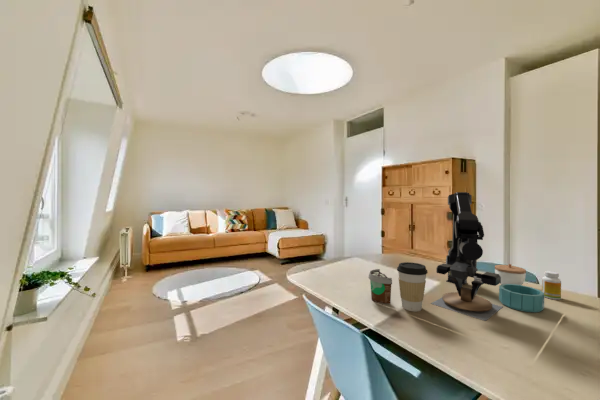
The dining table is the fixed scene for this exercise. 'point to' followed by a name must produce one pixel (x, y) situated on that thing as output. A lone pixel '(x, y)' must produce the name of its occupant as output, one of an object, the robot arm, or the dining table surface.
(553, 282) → the supplement bottle
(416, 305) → the coffee cup
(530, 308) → the bowl
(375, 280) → the food container
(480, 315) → the mat
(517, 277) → the lidded jar
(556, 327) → the dining table surface
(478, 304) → the lid
